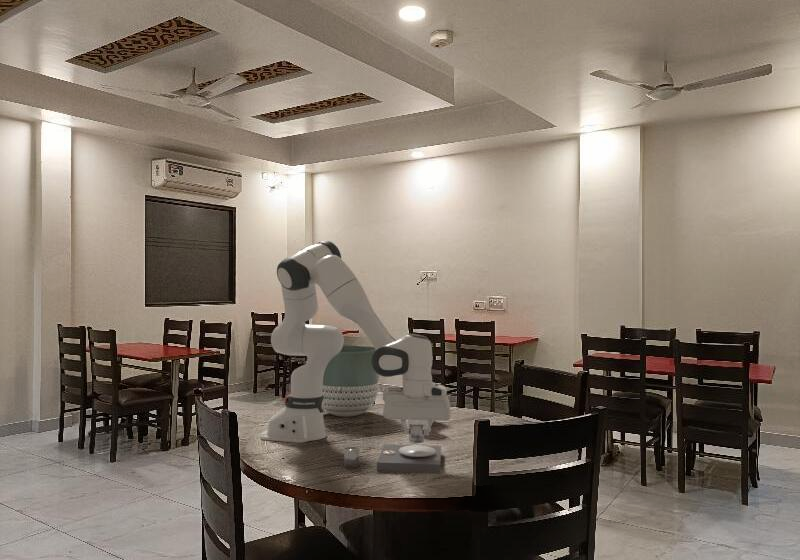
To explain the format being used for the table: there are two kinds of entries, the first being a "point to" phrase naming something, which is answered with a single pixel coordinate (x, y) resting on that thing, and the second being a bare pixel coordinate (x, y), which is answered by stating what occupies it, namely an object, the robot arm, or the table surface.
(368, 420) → the table surface
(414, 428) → the cylinder
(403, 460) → the scale
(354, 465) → the spacer
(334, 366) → the planter
